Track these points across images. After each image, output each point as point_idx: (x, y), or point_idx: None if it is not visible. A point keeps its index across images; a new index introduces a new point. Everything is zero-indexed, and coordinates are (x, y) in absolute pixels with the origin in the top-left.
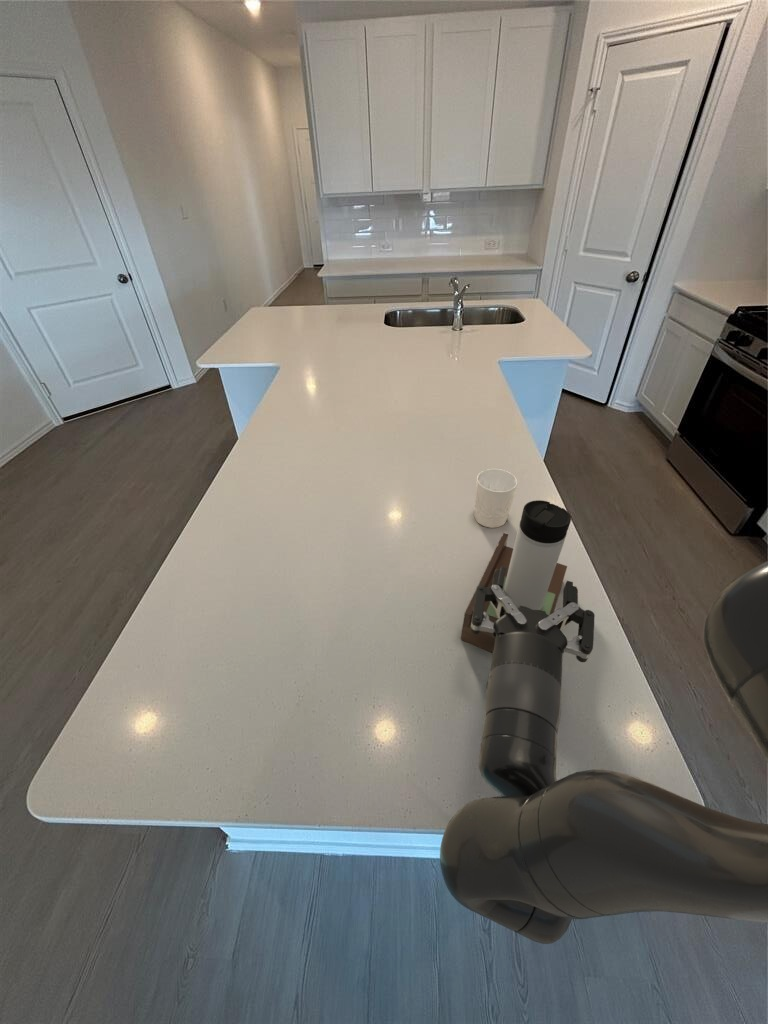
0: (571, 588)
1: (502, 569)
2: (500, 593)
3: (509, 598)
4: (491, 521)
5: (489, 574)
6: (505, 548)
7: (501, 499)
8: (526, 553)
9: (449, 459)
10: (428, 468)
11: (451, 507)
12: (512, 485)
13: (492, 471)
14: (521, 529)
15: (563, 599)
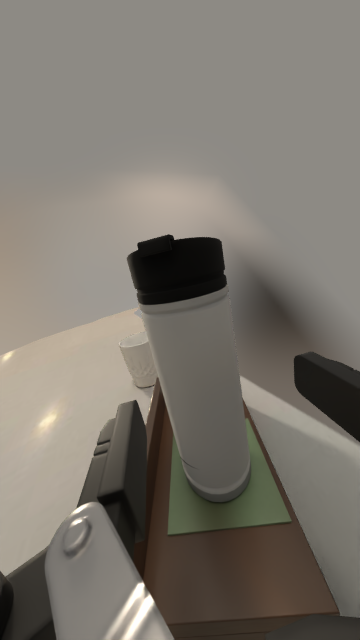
0: (331, 363)
1: (122, 411)
2: (98, 580)
3: (157, 635)
4: (148, 379)
5: (150, 439)
6: None
7: (146, 351)
8: (175, 348)
9: (110, 355)
10: (92, 367)
11: (112, 386)
12: None
13: (133, 336)
14: (141, 302)
15: (328, 411)
